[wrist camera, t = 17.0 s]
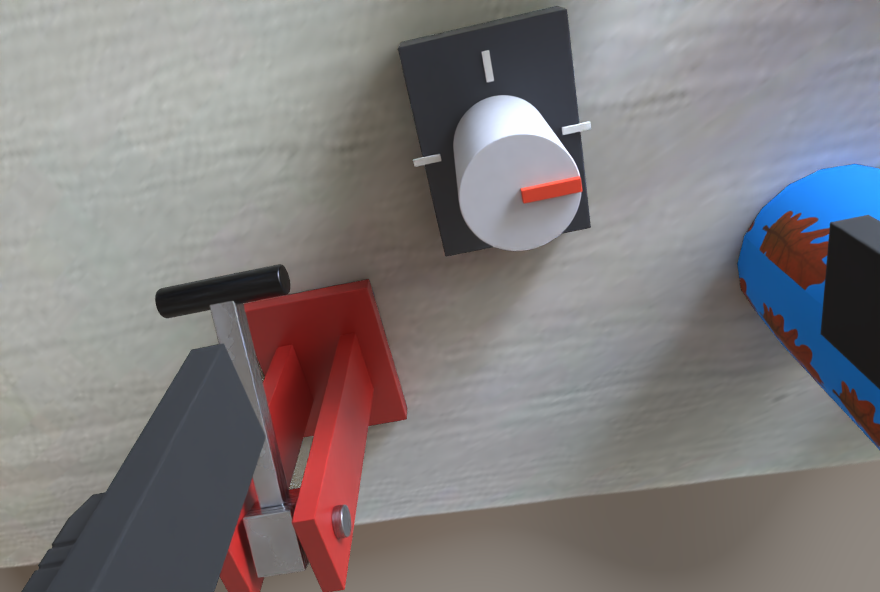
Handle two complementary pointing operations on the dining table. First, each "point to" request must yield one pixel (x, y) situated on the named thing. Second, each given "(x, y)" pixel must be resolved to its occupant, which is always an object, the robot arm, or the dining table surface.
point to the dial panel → (482, 76)
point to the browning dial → (513, 175)
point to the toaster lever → (276, 503)
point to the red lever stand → (320, 416)
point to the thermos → (810, 278)
